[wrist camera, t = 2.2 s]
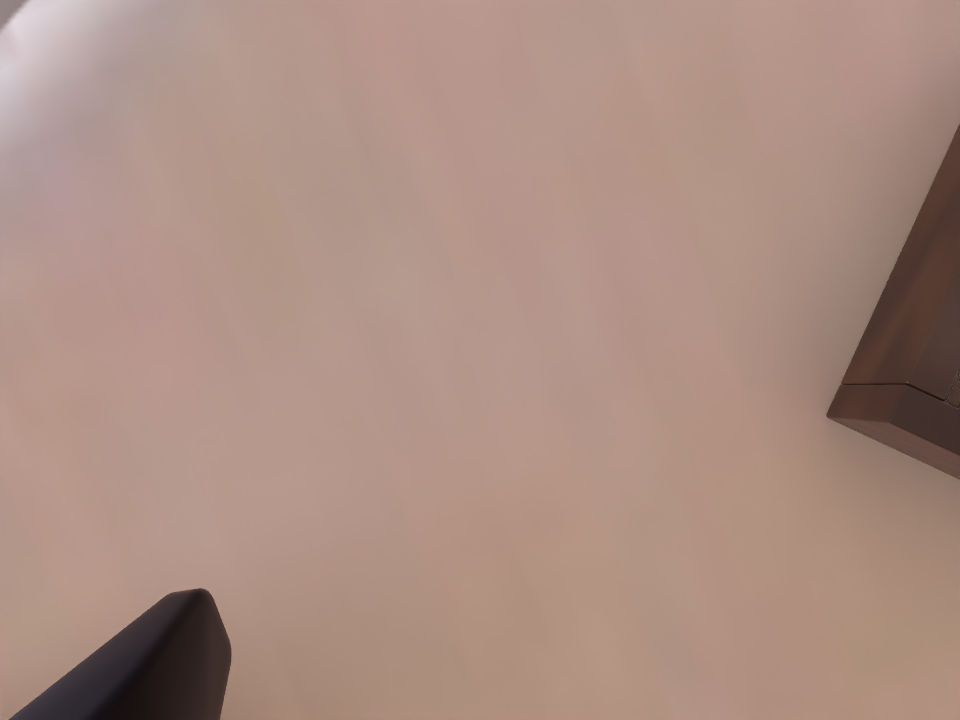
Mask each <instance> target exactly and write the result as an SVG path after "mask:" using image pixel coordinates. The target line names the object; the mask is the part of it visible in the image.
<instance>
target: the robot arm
mask: <svg viewBox="0 0 960 720" xmlns="http://www.w3.org/2000/svg"><path fill="white" fill-rule="evenodd" d="M230 665H231V645H230V641H229V638H228V635H227V632H226V630H225V627H224V625H223V622H222V619H221V617H220V614H219V612H218V609H217V607H216V604H215V601H214V599H213V597H212V595H211V594H210V593H209V591H207V590H205V589H202V588H199V589H192V590H186V591H179V592H174V593H170V594H168V595H167V596H165V597H164V598H162V599H161V600H160V601H159V602H157V603H156V604H155V605H154V606H152V607H151V608H150V609H149V610H147V611H146V612H145V613H143V614H142V615H141V616H140V617H138V618H137V619H136V620H135V621H133V622H132V623H131V624H129V625H128V626H127V627H126V628H124V629H123V630H122V631H121V632H119V633H118V634H117V635H115V636H114V637H113V638H112V639H110V640H109V641H108V642H107V643H105V644H104V645H103V646H102V647H100V648H99V649H98V650H96V651H95V652H94V653H93V654H91V655H90V656H89V657H88V658H86V659H85V660H84V661H82V662H81V663H80V664H79V665H77V666H76V667H75V668H74V669H72V670H71V671H70V672H69V673H67V674H66V675H65V676H63V677H62V678H61V679H60V680H58V681H57V682H56V683H55V684H53V685H52V686H51V687H49V688H48V689H47V690H46V691H44V692H43V693H42V694H41V695H39V696H38V697H37V698H35V699H34V700H33V701H32V702H30V703H29V704H28V705H27V706H25V707H24V708H23V709H22V710H20V711H19V712H18V713H16V714H15V715H14V716H13V717H11V718H10V719H9V720H220V715H221V710H222V705H223V700H224V695H225V690H226V685H227V680H228V675H229V670H230Z"/></svg>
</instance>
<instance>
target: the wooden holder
mask: <svg viewBox="0 0 960 720" xmlns="http://www.w3.org/2000/svg"><path fill="white" fill-rule="evenodd" d="M959 370H960V125H959V127H958V129H957V132H956V134H955V136H954V138H953V140H952V142H951V145H950V147H949V149H948V151H947V153H946V156H945V158H944V160H943V162H942V164H941V166H940V169H939V171H938V173H937V175H936V177H935V180H934V182H933V184H932V186H931V188H930V190H929V193H928V195H927V197H926V199H925V201H924V203H923V206H922V208H921V210H920V212H919V214H918V217H917V219H916V221H915V223H914V225H913V227H912V230H911V232H910V234H909V236H908V238H907V241H906V243H905V245H904V247H903V249H902V251H901V254H900V256H899V258H898V260H897V262H896V265H895V267H894V269H893V271H892V273H891V275H890V278H889V280H888V282H887V284H886V286H885V289H884V291H883V293H882V295H881V297H880V299H879V302H878V304H877V306H876V308H875V310H874V313H873V315H872V317H871V319H870V321H869V323H868V326H867V328H866V330H865V332H864V334H863V337H862V339H861V341H860V343H859V345H858V347H857V350H856V352H855V354H854V356H853V358H852V360H851V363H850V365H849V367H848V369H847V371H846V374H845V376H844V378H843V380H842V384H843V385H840V387H839V389H838V391H837V393H836V395H835V397H834V400H833V402H832V404H831V406H830V408H829V411H828V413H827V415H826V416H827V417H828V418H830V419H832V420H834V421H836V422H838V423H840V424H842V425H845V426H847V427H849V428H851V429H853V430H855V431H857V432H860V433H862V434H864V435H866V436H868V437H870V438H872V439H875V440H877V441H879V442H881V443H883V444H885V445H887V446H890V447H892V448H894V449H896V450H898V451H900V452H902V453H905V454H907V455H909V456H911V457H913V458H915V459H917V460H920V461H922V462H924V463H926V464H928V465H930V466H933V467H935V468H937V469H939V470H941V471H943V472H945V473H948V474H950V475H952V476H954V477H956V478H958V479H960V409H959V408H957V407H955V406H953V405H950V404H948V403H946V402H944V400H946V398H947V396H948V394H949V392H950V390H951V387H952V385H953V383H954V381H955V379H956V376H957V374H958V372H959Z"/></svg>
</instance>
